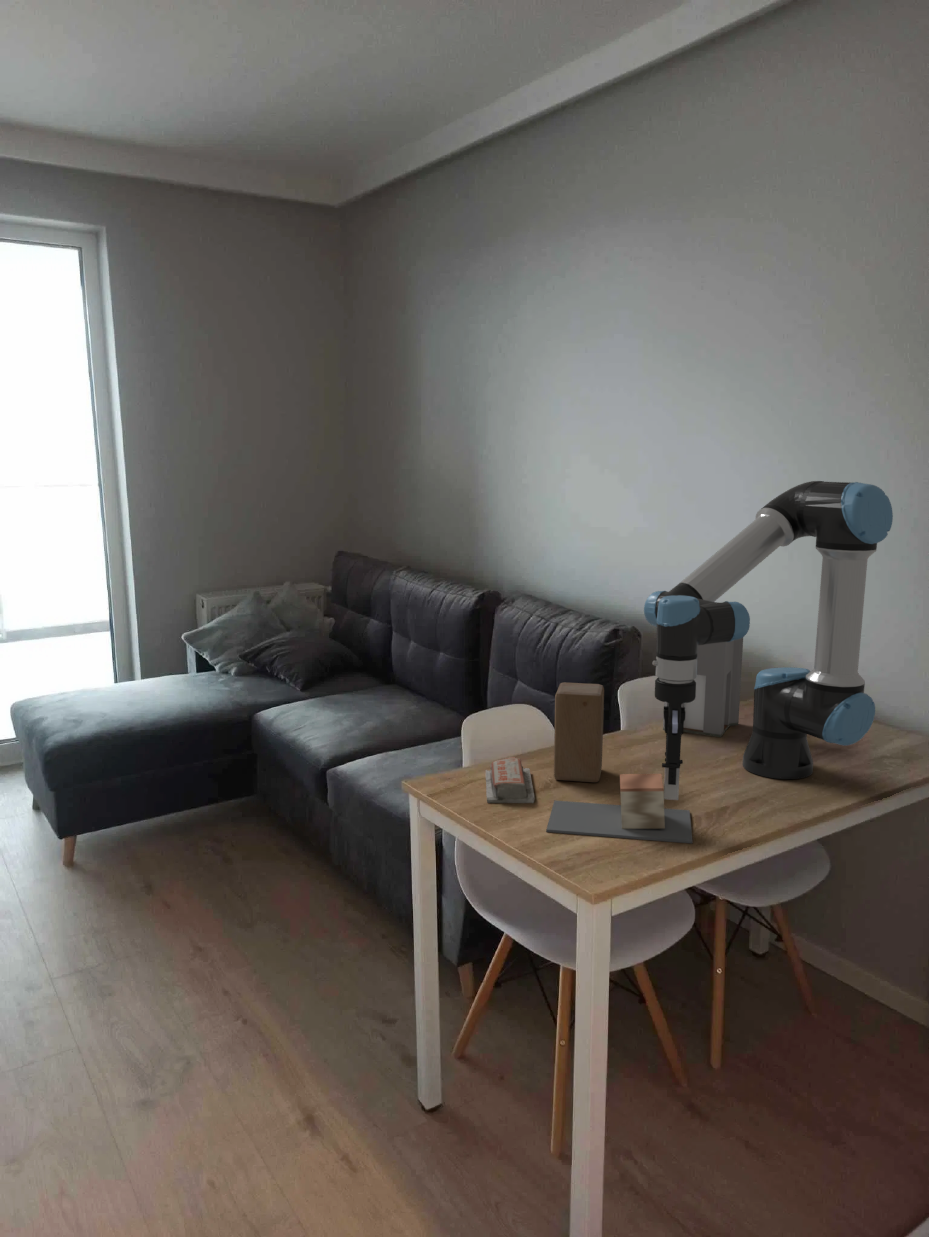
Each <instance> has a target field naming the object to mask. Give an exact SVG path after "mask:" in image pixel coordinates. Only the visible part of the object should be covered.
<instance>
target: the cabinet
mask: <svg viewBox="0 0 929 1237" xmlns="http://www.w3.org/2000/svg"><path fill="white" fill-rule="evenodd" d="M743 649H744V637H743V638H741V639H738V640H734V641H731V642H721V643H713V644H704V645H698V652H697V677H696V678H695V679H694V680H695V682H696V697H695V700H694V701H692V702H689V703H683V704H681V707H685V720H684V727H683V733H688V734H696V735H702V736H710V737H715V738H722V736H723V735H725V732H726V731H727V730H728V728H729V727H732V726H739V720H740V706H741V705H740V700H741V686H742V685H741V683H742V667H743V666H742V665H743V651H744V650H743ZM664 706H668V703H667V702H663V707H664ZM662 721H663V723H662V730H663V731H664V732H665V727H664V721H665V720H664V716H663V719H662Z"/></svg>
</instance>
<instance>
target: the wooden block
mask: <svg viewBox="0 0 929 1237" xmlns="http://www.w3.org/2000/svg"><path fill="white" fill-rule="evenodd" d="M604 700H605V688H604V685H602V684H599V683H581V682H579V683H578V682H565V681H564V682H560V683H559V685H558V687H557V691H556V693H555V696H554V740H553V742H554V744H553V753H554V754H553V777H554V779H555V780H557V781H568V782H569V781H571V782H583V783H585V782H586V783H598V782H599V781H600V779H601V775H602V774H601V772H602V769H603V768H602V767H603V740H604V738H603V737H604V708H605V706H604V705H605V704H604V703H605V702H604Z"/></svg>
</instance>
